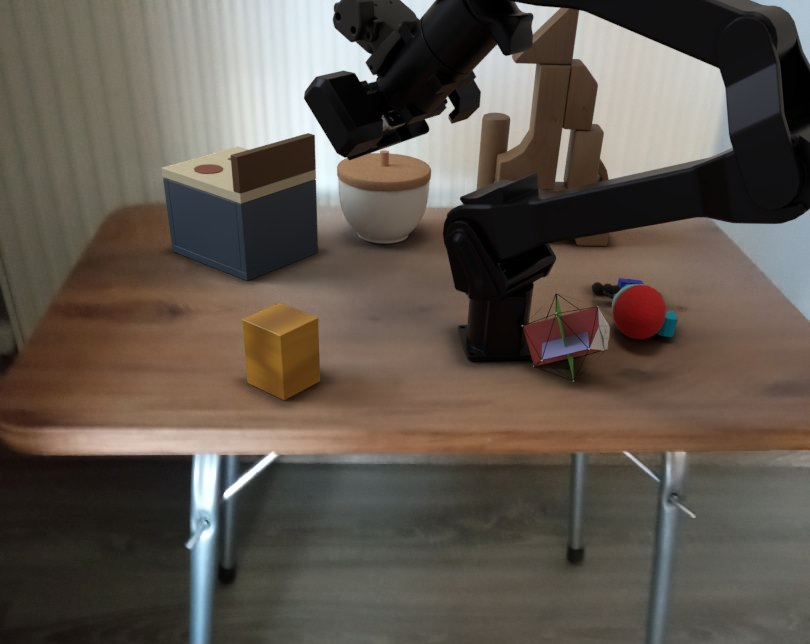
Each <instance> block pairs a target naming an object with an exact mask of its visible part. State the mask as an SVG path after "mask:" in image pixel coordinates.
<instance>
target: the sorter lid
mask: <svg viewBox="0 0 810 644" xmlns="http://www.w3.org/2000/svg"><path fill="white" fill-rule="evenodd" d="M316 162H317V161H316V135H315V134H312V133H309V132H307V133H303V134H300V135H295V136H293V137H289V138H285V139H282V140H278V141H276V142H271V143H267V144H264V145H261V146H258V147H254V148H250V149H248V148H245V147H240V146H235V147H231V148H228V149H224V150H220V151H217V152H214V153H210V154H206V155H202V156H199V157H195V158H192V159H191V158H190V159H188V160H185V161H181V162H176V163H173V164H170V165H166V166H162V167H161V175H162V178H167V179H170V180H173V181H176V182H179V183H182V184H185V185H187V186H190V187H193V188H196V189H199V190H202V191H205V192H208V193H211V194H214V195H217V196H220V197H223V198H226V199H229V200H232V201H234V202H237V203H240V204H242V203H245V202H248V201H251V200H254V199H257V198H260V197H263V196H266V195H269V194H272V193H275V192H278V191H281V190H284V189H287V188H290V187H293V186H296V185H299V184H302V183H305V182H308V181H311V180H314V179H315V180H317V170H316V169H317V163H316Z"/></svg>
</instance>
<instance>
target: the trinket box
mask: <svg viewBox="0 0 810 644" xmlns="http://www.w3.org/2000/svg"><path fill="white" fill-rule="evenodd" d="M336 176H337V182H338V184H337V185H338V187H337V189H338V198H339V203H340V208H341V211H342V213H343V216H344V218H345V221H346V222H347V224H348V225H349V226H350V228H352V229H353V230H354V232H355V233H356V234H357V237H358V238H359V239H361V240H363V241H366V242H369V243H373V244H381V245H382V244H383V245H384V244H387V245H388V244H395V243H400V242H403V241H405V240H407V239H408V238H409V234H411V233H412V232H413V231H415V229H416V228H417V227H418V226H419V224H420V223H421V221H422V220H423V218H424V215H425V213H426V210H427V205H428V202H429V195H430V186H431V185H430V183H431V181H430V180H431V178H432V167H431V166H430V164H428V163H427V162H426V161H423V160H422V159H419V158H416V157H413V156H410V155H405V154H400V153H390V151H389V150H386V149H384V150H383V149H381V150H379V152H373V153H370V154H367V155H364V156H361V157H359V158H356V159H353V160H348V158H344V159H342V160H340V161H339V162H338V164H337V166H336Z"/></svg>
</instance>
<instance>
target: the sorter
mask: <svg viewBox="0 0 810 644" xmlns="http://www.w3.org/2000/svg"><path fill="white" fill-rule="evenodd" d="M162 180H163V181H162V182H163V188H164V197H165V204H166V211H167V220H168V227H169V235H170V241H171V242H170V243H171V249H172V252H174V253H176V254H179V255H181V256H184V257H186V258H188V259H191V260H193V261H196V262H199V263H201V264H204V265H206V266H209V267H211V268H213V269H216V270H219V271H222V272H223V273H226V274H229V275H231V276H234V277H237V278H239V279H242V280H244V281H247V282H248V281H251V280H254V279H256V278H258V277H260V276H263V275H265V274H268V273H271V272H273V271H276V270H278V269H280V268H283V267H286V266H288V265H290V264H293V263H295V262H298V261H300V260H303V259H305V258H307V257H310V256H312V255H315V254H317V253H319V239H318V237H319V236H318V235H319V234H318V206H317V204H318V201H317V179H314V180H311V181H308V182H305V183H302V184H299V185H296V186H293V187H290V188H287V189H284V190H281V191H278V192H275V193H272V194H269V195H266V196H263V197H260V198H257V199H254V200H251V201H248V202H245V203H242V204H240V203H237V202H234V201H232V200H229V199H226V198H223V197H220V196H217V195H214V194H211V193H208V192H205V191H202V190H199V189H196V188H193V187H190V186H187V185H185V184H182V183H179V182H176V181H173V180H170V179H167V178H164V177H162Z"/></svg>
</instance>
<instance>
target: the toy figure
mask: <svg viewBox="0 0 810 644" xmlns="http://www.w3.org/2000/svg"><path fill="white" fill-rule="evenodd" d="M591 292H592V293H593V294H594V295H595V296H600V295H602V294H603V295H604V296H605V297H608V298H609V299H611V300H612V302H611V313H612V320H613V322H614V324H615V326H616V327H617V329H618V330H619V331H620V332H621V333H622V334H623V335H624V336H626V337H627V338H630V339H634V340H646V339H649V338H651V337H653V336H654V335H658V336H662V337H667V338H674V335H675V331H676V327H677V323H678V316H677V314H676V311H673V310H672V309H670V310H669V311H667V309H666V304H665V301H664V298H663V295H662V294H661V293H660V291H658V290H657V289H656V288H655V287H652V286H650V285H646V284H645V283H644V282H643V281H642V280H641V279H634V278H623V277H618V280H617V284H614V285H612V284H611V283H605V284H602V283H601V282H599V281H596V282H594V283H592V285H591Z"/></svg>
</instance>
